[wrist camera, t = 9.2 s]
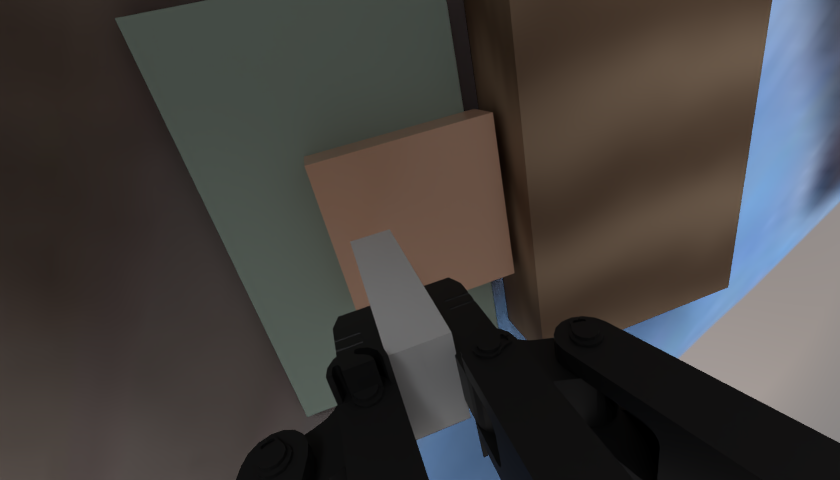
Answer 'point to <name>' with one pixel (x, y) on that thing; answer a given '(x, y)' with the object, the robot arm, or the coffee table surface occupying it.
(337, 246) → the terracotta tile
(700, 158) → the block
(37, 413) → the coffee table surface
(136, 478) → the coffee table surface
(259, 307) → the sage mat
